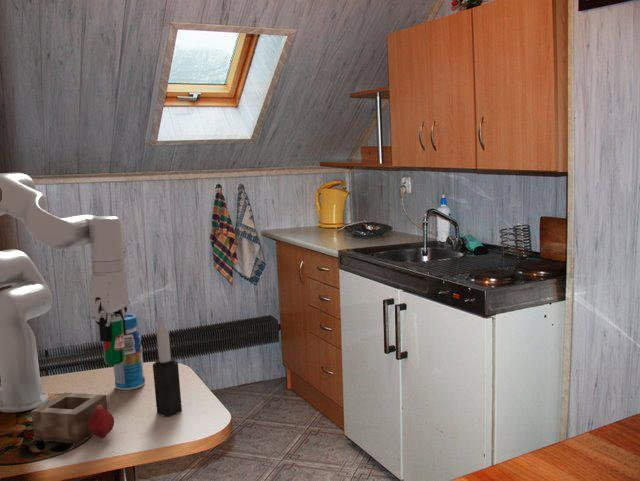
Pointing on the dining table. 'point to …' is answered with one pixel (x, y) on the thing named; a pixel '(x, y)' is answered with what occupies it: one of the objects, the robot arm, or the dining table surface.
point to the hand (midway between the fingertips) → (113, 337)
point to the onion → (100, 422)
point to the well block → (66, 417)
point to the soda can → (115, 342)
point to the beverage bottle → (130, 359)
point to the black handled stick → (166, 375)
